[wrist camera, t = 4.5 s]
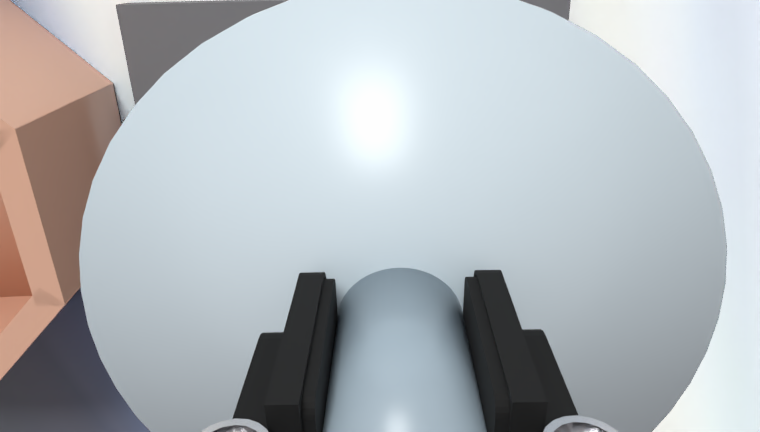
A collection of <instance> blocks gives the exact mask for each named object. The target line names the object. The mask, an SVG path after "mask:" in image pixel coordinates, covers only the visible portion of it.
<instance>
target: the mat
mask: <svg viewBox="0 0 760 432" xmlns="http://www.w3.org/2000/svg"><path fill="white" fill-rule="evenodd" d="M286 1H288V0H224V1H185V2H147V3H125V4H118V5H116V9H117V14H118V19H119V24H120V30H121V35H122V40H123V45H124V50H125V55H126V60H127V65H128V71H129V76H130V81H131V86H132V91H133V96H134V101H135V105H136V104H137V102H138V101H139V100H140V99H141V98H142V97H143V96H144V95H145V94H146V93H147V92H148V91H149V89H150V88H151V87H152V86H153V85H154V84H155V83H156V82H157V81H158V80H159V79H160V77H161V76H162V75H163V74H164V73H165V72H167V71H168V70H169V69H170V68H172V67H173V66H174V65H175V64H177V63H178V62H179V61H180V60H182V59H183V58H184V57H185V56H187V55H188V54H189V53H190V52H192V51H193V50H194V49H195V48H197V47H198V46H199V45H200V44H202V43H203V42H205V41H207V40H209V39H210V38H212V37H214V36H216V35H217V34H219V33H221V32H223V31H224V30H226V29H228V28H229V27H231V26H233V25H235V24H236V23H238V22H240V21H242V20H243V19H245V18H247V17H249V16H251V15H253V14H255V13H258V12H260V11H263V10H265V9H268V8H271V7H273V6H276V5H278V4H281V3H283V2H286ZM520 1H523V2H526V3H529V4H531V5H534V6H537V7H540V8H543V9H545V10H548V11H550V12H553V13H555V14H557V15H558V16H560V17H562V18H564V19H566V20H568V19H569V9H570V0H520Z"/></svg>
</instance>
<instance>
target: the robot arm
mask: <svg viewBox="0 0 760 432" xmlns="http://www.w3.org/2000/svg"><path fill="white" fill-rule="evenodd" d="M463 318H464V323H465V328H466V333H467V338H468V342H469V347H470V352H471V357H472V362H473V367H474V372H475V376H476V381H477V386H478V391H479V396H480V401H481V405H482V410H483V415H484V420H485V425H486V430H487V432H618V431H617V430H616V429H614V428H612V427H611V426H609V425H607V424H606V423H604V422H601V421H599V420H596V419H593V418H591V417H584V416H579V415H578V413H577V411H576V408H575V406H574V403H573V401H572V398H571V396H570V393H569V391H568V389H567V386H566V384H565V381H564V379H563V376H562V374H561V371H560V369H559V367H558V364H557V362H556V359H555V357H554V354H553V352H552V349H551V347H550V345H549V342H548V340H547V337H546V335H545V333H544V331H543V330H541V329H522V327H521V325H520V322H519V319H518V316H517V313H516V311H515V308H514V305H513V302H512V299H511V296H510V294H509V291H508V288H507V285H506V282H505V279H504V277H503V274H502V271H501V270H475V271H474V277H465V282H464V302H463ZM337 319H338V313H337V298H336V283H335V279H326V274H325V272H304V273H299V276H298V280H297V283H296V287H295V291H294V295H293V298H292V302H291V306H290V310H289V313H288V317H287V321H286V324H285V328H284V332H266V333H261V334H260V336H259V339H258V342H257V345H256V348H255V351H254V354H253V357H252V360H251V363H250V366H249V369H248V372H247V375H246V378H245V381H244V384H243V387H242V390H241V394H240V397H239V400H238V403H237V406H236V409H235V412H234V415H233V418H232V419H229V420H224V421H220V422H218V423H215V424H213V425H210V426H208V427H207V428H206V429H204V430H203V431H201V432H323V424H324V417H325V409H326V402H327V394H328V387H329V379H330V371H331V364H332V356H333V349H334V341H335V334H336V326H337Z"/></svg>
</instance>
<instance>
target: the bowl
mask: <svg viewBox="0 0 760 432" xmlns="http://www.w3.org/2000/svg"><path fill="white" fill-rule="evenodd" d="M120 126H121V120H120V115H119V110H118V106H117V101H116V96H115V91H114V86H113V83H112V82H111V81H110V80H108V79H107V78H106V77H105V76H103V75H102V74H101V73H100V72H98V71H97V70H96V69H95V68H93V67H92V66H91V65H90V64H89V63H87V62H86V61H85V60H84V59H82V58H81V57H80V56H79V55H77V54H76V53H75V52H74V51H72V50H71V49H70V48H69V47H67V46H66V45H65V44H64V43H62V42H61V41H60V40H59V39H57V38H56V37H55V36H54V35H52V34H51V33H50V32H49V31H47V30H46V29H45V28H44V27H42V26H41V25H40V24H39V23H38V22H36V21H35V20H34V19H33V18H31V17H30V16H29V15H28V14H26V13H25V12H24V11H23V10H21V9H20V8H19V7H18V6H16V5H15V4H14V3H13V2H11V1H10V0H0V380H1V379H2V378H3V377H4V376H5V375H6V373H7V372H8V371H9V370H10V369H11V368H12V366H13V365H14V364H15V363H16V362H17V361H18V360H19V358H20V357H21V356H22V355H23V354H24V353H25V351H26V350H27V349H28V348H29V347H30V346H31V345H32V343H33V342H34V341H35V340H36V339H37V338H38V336H39V335H40V334H41V333H42V332H43V331H44V330H45V328H46V327H47V326H48V325H49V324H50V323H51V321H52V320H53V319H54V318H55V317H56V316H57V315H58V313H59V312H60V311H61V310H62V309H63V308H64V307H65V305H66V304H67V303H68V301H69V300H70V299H71V298H72V297H73V296H74V295H75V293H76V292H77V291H78V290H79V289H80V288H81V283H80V265H79V249H80V240H81V230H82V220H83V215H84V211H85V208H86V204H87V200H88V196H89V193H90V189H91V185H92V181H93V179H94V176H95V174H96V172H97V170H98V168H99V165H100V163H101V161H102V159H103V157H104V154H105V152H106V150H107V148H108V145H109V143H110V142H111V140H112V139H113V137H114V136H115V134H116V133H117V131H118V129H119V128H120Z"/></svg>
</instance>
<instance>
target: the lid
mask: <svg viewBox="0 0 760 432" xmlns="http://www.w3.org/2000/svg"><path fill="white" fill-rule="evenodd" d="M726 256H727V243H726V234H725V226H724V218H723V210H722V205H721V202H720V199H719V195H718V192H717V188H716V185H715V182H714V178H713V175H712V171H711V169H710V167H709V165H708V163H707V160H706V158H705V156H704V154H703V152H702V150H701V148H700V146H699V144H698V142H697V140H696V138H695V136H694V134H693V132H692V130H691V129H690V128H689V126H688V125H687V123H686V122H685V121H684V119H683V118H682V116H681V115H680V114H679V112H678V111H677V109H676V108H675V106H674V105H673V104H672V102H671V101H670V99H669V98H668V97H667V96H666V95H665V94H664V93H663V92H662V91H661V90H660V89H659V88H658V86H657V85H656V84H655V83H654V82H653V81H652V80H651V79H650V78H649V77H648V76H647V75H646V74H645V73H644V72H643V71H642V70H641V69H640V68H639V67H638V66H637V65H636V64H635V63H633V62H632V61H631V60H629V59H628V58H626V57H625V56H624V55H622V54H621V53H620V52H618V51H617V50H616V49H614V48H613V47H612V46H610V45H609V44H607V43H606V42H605V41H603V40H602V39H601V38H599V37H598V36H597V35H595V34H593V33H591V32H589V31H587V30H585V29H583V28H581V27H579V26H578V25H576V24H574V23H572V22H570V21H568V20H566V19H564V18H562V17H560V16H558V15H557V14H555V13H553V12H550V11H548V10H545V9H543V8H540V7H537V6H534V5H531V4H529V3H526V2H523V1H520V0H288V1H286V2H283V3H281V4H278V5H276V6H273V7H271V8H268V9H265V10H263V11H260V12H258V13H255V14H253V15H251V16H249V17H247V18H245V19H243V20H242V21H240V22H238V23H236V24H235V25H233V26H231V27H229V28H228V29H226V30H224V31H223V32H221V33H219V34H217V35H216V36H214V37H212V38H210V39H209V40H207V41H205V42H203V43H202V44H200V45H199V46H198V47H197V48H195V49H194V50H193V51H192V52H190V53H189V54H188V55H187V56H185V57H184V58H183V59H182V60H180V61H179V62H178V63H177V64H175V65H174V66H173V67H172V68H170V69H169V70H168V71H167V72H165V73H164V74H163V75H162V76H161V77H160V79H159V80H158V81H157V82H156V83H155V84H154V85H153V86H152V87H151V88H150V89H149V91H148V92H147V93H146V94H145V95H144V96H143V97H142V98H141V99H140V100H139V101H138V102H137V104H136V105H135V106H134V107H133V108H132V110H131V111H130V113H129V114H128V116H127V117H126V119H125V120H124V122H123V123H122V125H121V126H120V128H119V129H118V131H117V133H116V134H115V136H114V137H113V139H112V140H111V142H110V143H109V145H108V148H107V150H106V152H105V154H104V157H103V159H102V161H101V163H100V165H99V168H98V170H97V172H96V174H95V176H94V179H93V181H92V185H91V189H90V193H89V196H88V200H87V204H86V208H85V211H84V215H83V220H82V230H81V240H80V249H79V265H80V283H81V294H82V299H83V303H84V308H85V313H86V318H87V322H88V327H89V329H90V332H91V335H92V337H93V340H94V343H95V345H96V348H97V351H98V354H99V356H100V359H101V361H102V363H103V364H104V366H105V368H106V370H107V372H108V374H109V376H110V377H111V379H112V381H113V383H114V385H115V387H116V389H117V390H118V391H119V393H120V394H121V396H122V397H123V398H124V400H125V401H126V403H127V404H128V405H129V407H130V408H131V410H132V411H133V412H134V414H135V415H136V416H137V417H138V419H139V420H140V421H141V422H142V423H143V424H144V425H145V426H146V427H147V428H148V429H149V431H150V432H201V431H203V430H204V429H206V428H207V427H208V426H210V425H213V424H215V423H218V422H220V421H224V420H229V419H232V418H233V415H234V412H235V409H236V406H237V403H238V400H239V397H240V394H241V390H242V387H243V384H244V381H245V378H246V375H247V372H248V369H249V366H250V363H251V360H252V357H253V354H254V351H255V348H256V345H257V342H258V339H259V336H260V334H261V333H266V332H284V328H285V324H286V321H287V317H288V313H289V310H290V306H291V302H292V298H293V295H294V291H295V287H296V283H297V280H298V276H299V273H304V272H325V274H326V279H335V283H336V298H337V313H338V319H337V326H336V334H335V341H334V349H333V356H332V364H331V371H330V379H329V387H328V394H327V402H326V409H325V417H324V424H323V432H487V430H486V425H485V420H484V415H483V410H482V405H481V401H480V396H479V391H478V386H477V381H476V376H475V372H474V367H473V362H472V357H471V352H470V347H469V342H468V338H467V333H466V328H465V323H464V318H463V302H464V282H465V277H474V271H475V270H501V271H502V274H503V277H504V279H505V282H506V285H507V288H508V291H509V294H510V296H511V299H512V302H513V305H514V308H515V311H516V313H517V316H518V319H519V322H520V325H521V327H522V329H541V330H543V331H544V333H545V335H546V337H547V340H548V342H549V345H550V347H551V349H552V352H553V354H554V357H555V359H556V362H557V364H558V367H559V369H560V371H561V374H562V376H563V379H564V381H565V384H566V386H567V389H568V391H569V393H570V396H571V398H572V401H573V403H574V406H575V408H576V411H577V413H578V415H579V416H584V417H591V418H593V419H596V420H599V421H601V422H604V423H606V424H607V425H609V426H611V427H612V428H614V429H616V430H617V431H618V432H652V431H653V430H654V429H655V428H656V427H657V425H658V424H659V423H660V422H661V421H662V420H663V419H664V418H665V417H666V416H667V414H668V413H669V412H670V411H671V410H672V408H673V407H674V405H675V404H676V403H677V401H678V400H679V398H680V397H681V395H682V394H683V393H684V391H685V390H686V388H687V387H688V385H689V384H690V383H691V381H692V379H693V377H694V375H695V373H696V371H697V369H698V367H699V365H700V363H701V362H702V360H703V358H704V356H705V354H706V352H707V349H708V346H709V344H710V341H711V338H712V335H713V332H714V330H715V327H716V324H717V321H718V318H719V313H720V308H721V303H722V298H723V293H724V288H725V281H726Z"/></svg>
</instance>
